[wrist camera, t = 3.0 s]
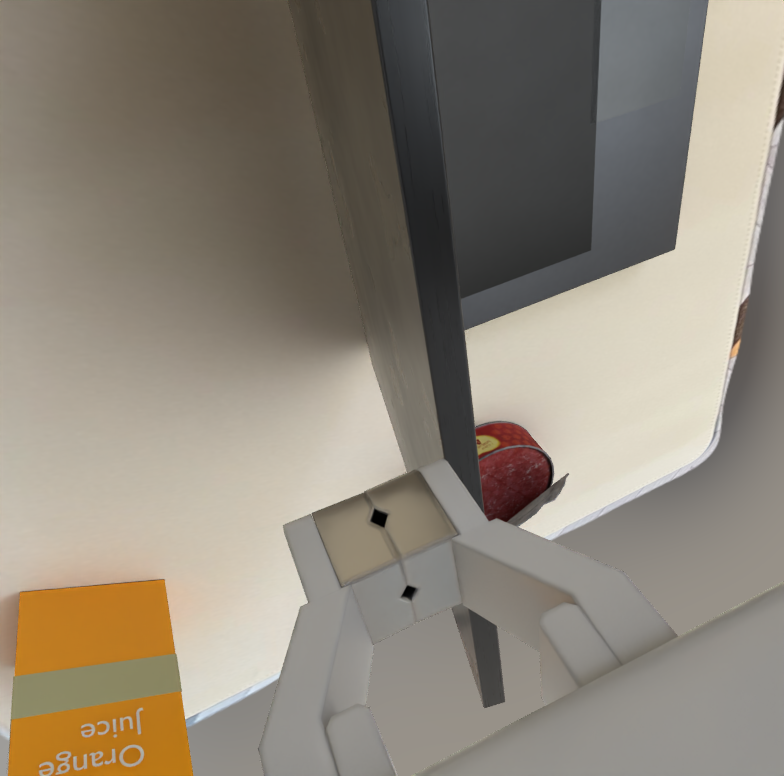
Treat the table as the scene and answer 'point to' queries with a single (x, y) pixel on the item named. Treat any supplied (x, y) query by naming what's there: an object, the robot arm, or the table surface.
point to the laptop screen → (399, 238)
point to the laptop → (562, 139)
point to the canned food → (514, 473)
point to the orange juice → (97, 684)
